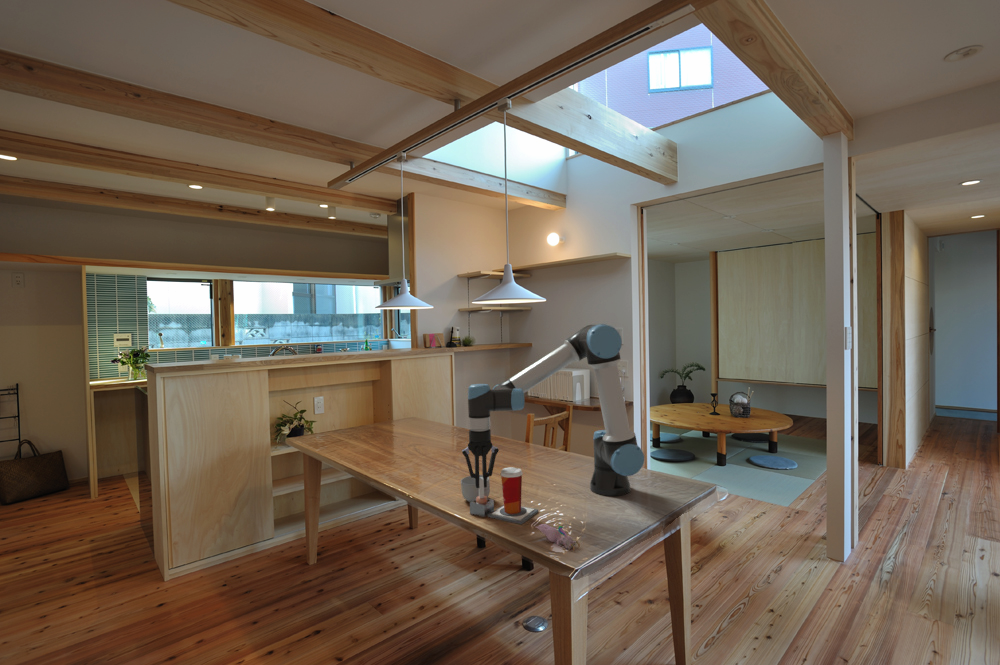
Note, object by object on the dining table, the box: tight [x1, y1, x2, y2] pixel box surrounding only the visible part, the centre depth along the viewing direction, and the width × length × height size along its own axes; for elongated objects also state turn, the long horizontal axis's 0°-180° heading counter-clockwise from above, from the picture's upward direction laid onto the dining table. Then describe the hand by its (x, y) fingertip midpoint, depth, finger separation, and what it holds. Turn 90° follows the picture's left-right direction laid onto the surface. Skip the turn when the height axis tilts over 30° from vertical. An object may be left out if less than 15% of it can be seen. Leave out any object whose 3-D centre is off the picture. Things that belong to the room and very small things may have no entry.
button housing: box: [469, 497, 495, 518], centre depth 164 cm, size 6×6×4 cm
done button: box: [476, 496, 488, 504], centre depth 164 cm, size 4×4×3 cm
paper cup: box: [499, 466, 524, 514], centre depth 161 cm, size 8×8×14 cm
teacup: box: [459, 474, 491, 503], centre depth 177 cm, size 14×11×8 cm
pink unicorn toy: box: [535, 523, 581, 552], centre depth 139 cm, size 6×6×15 cm
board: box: [487, 504, 539, 525], centre depth 161 cm, size 13×12×1 cm
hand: (481, 496), depth 164 cm, fingers closed
